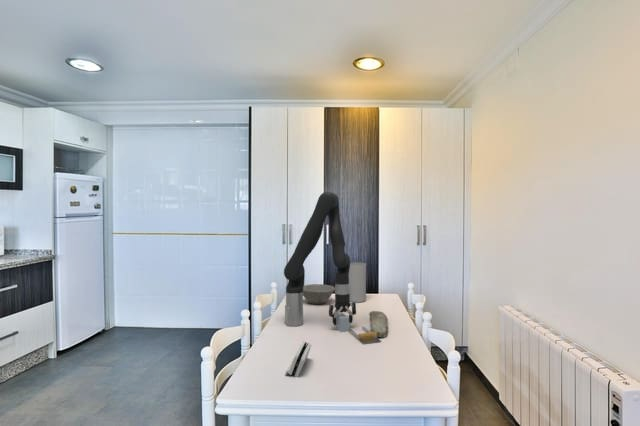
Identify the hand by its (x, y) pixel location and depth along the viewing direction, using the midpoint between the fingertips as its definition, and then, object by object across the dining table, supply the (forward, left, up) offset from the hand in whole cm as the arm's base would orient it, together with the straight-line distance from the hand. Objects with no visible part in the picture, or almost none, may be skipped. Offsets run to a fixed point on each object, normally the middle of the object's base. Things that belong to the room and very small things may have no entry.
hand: (342, 323), depth 176 cm
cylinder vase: (+31, +49, -3) cm, 58 cm away
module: (0, 0, -3) cm, 3 cm away
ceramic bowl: (+4, +52, -3) cm, 52 cm away
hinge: (-32, -34, -3) cm, 47 cm away
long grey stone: (+20, -2, -3) cm, 20 cm away
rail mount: (+6, -13, -3) cm, 14 cm away
